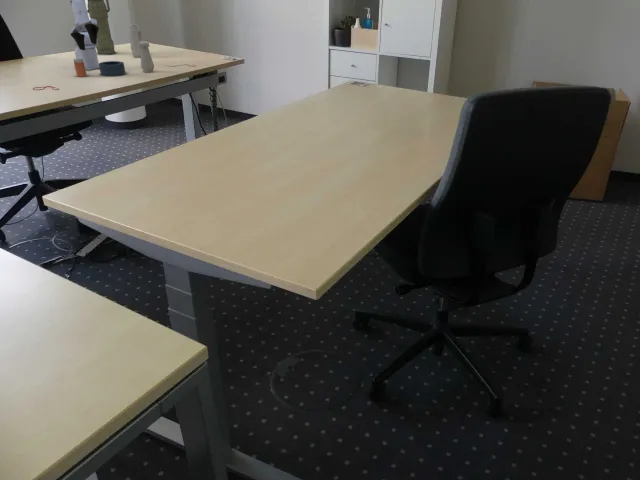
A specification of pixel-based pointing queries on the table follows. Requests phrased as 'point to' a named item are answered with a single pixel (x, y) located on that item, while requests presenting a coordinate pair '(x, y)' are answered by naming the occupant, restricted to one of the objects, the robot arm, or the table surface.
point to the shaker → (79, 67)
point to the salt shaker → (146, 57)
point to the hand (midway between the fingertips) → (88, 46)
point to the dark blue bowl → (112, 68)
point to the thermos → (101, 26)
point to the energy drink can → (135, 39)
